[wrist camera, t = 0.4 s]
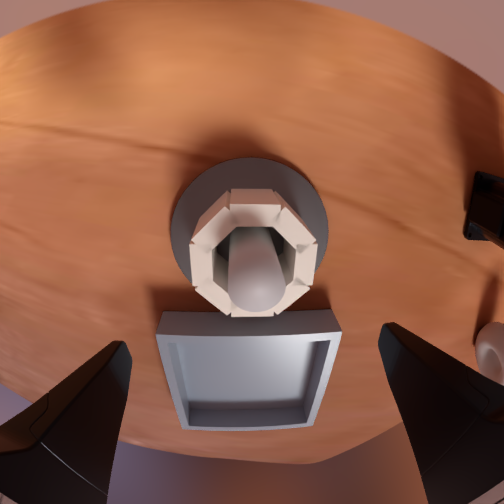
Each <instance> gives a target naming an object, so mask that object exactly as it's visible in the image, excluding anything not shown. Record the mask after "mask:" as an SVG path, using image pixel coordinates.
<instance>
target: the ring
mask: <svg viewBox="0 0 504 504" xmlns="http://www.w3.org/2000/svg"><path fill="white" fill-rule="evenodd" d="M236 227H274V228H275V229H276V230H277V231H278V232H279V233H280V234H281V235H282V236H283V237H284V245H283V253H281V254H280V255H279V256H278V260H279V263H280V266H281V270H282V273H283V276H284V279H285V284H286V289H285V293H284V296H283V298H282V299H281V301H280V302H279V303H278V304H277V305H275V306H274V307H273V308H271V309H269V310H266V311H262V312H249V311H245V310H242V309H240V308H239V307H237V306H236V305H235V304H234V303H233V302H232V301H231V299H230V297H229V295H228V266H229V262H227V261H226V260H225V259H224V258H223V257H222V256H221V255H220V254H218V253H217V245H218V244H219V243H220V242H221V241H222V240H223V239H224V238H225V237H226V236H227V235H228V234H229V233H230V232H231V231H232V230H233V229H235V228H236ZM317 246H318V244H317V243H316V239H315V237H314V236H313V234H312V233H311V231H310V230H309V229H308V227H307V226H306V224H305V223H304V221H303V220H302V219H301V217H300V216H299V215H298V214H297V213H296V212H295V211H294V210H293V209H292V208H291V207H290V206H289V204H288V203H287V202H286V201H285V200H284V199H283V198H282V197H281V196H280V195H279V194H278V193H277V192H276V191H275V192H273V190H272V189H231V193H230V192H229V191H226V192H225V193H224V194H223V195H222V196H221V197H220V198H219V199H218V200H217V201H216V202H215V203H214V204H213V205H212V206H211V207H210V208H209V209H208V210H207V211H206V212H205V213H204V214H203V215H202V216H201V217H200V218H199V221H198V223H197V226H196V228H195V231H194V233H193V236H192V239H191V241H190V244H189V247H190V261H191V273H192V285H193V286H196V287H195V291H197V292H198V293H199V294H200V295H202V296H203V297H204V298H205V299H207V300H208V301H209V302H210V303H212V304H213V305H214V306H215V307H217V308H218V309H219V310H221V311H222V312H223V313H224V314H226V315H228V314H229V313H231V317H263V316H274V312H275V313H276V314H277V315H278V314H279V313H281V312H282V311H283V310H284V309H286V308H287V307H288V306H290V305H291V304H292V303H293V302H295V301H296V300H297V299H298V298H300V297H301V296H302V295H303V294H305V293H306V292H307V291H308V290H309V289H310V287H309V285H313V278H314V270H315V263H316V255H317Z"/></svg>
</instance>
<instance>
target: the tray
mask: <svg viewBox="0 0 504 504" xmlns="http://www.w3.org/2000/svg"><path fill="white" fill-rule="evenodd" d="M341 335H342V330H341V328H340V325H339V323H338V321H337V319H336V317H335V315H334V313H333V311H332V309H327V310H306V311H282V312H281V313H279V314H278V315H277V314H276V313H275V312H274V316H263V317H231V313H229V314H228V315H226V314H224V313H223V312H178V311H163V314H162V316H161V319H160V322H159V325H158V328H157V331H156V339H157V343H158V347H159V351H160V355H161V359H162V363H163V367H164V370H165V374H166V378H167V381H168V385H169V388H170V392H171V395H172V398H173V402H174V405H175V408H176V411H177V414H178V417H179V420H180V423H181V426H182V429H190V430H212V431H251V430H273V429H286V428H297V427H306V426H313V423H314V421H315V418H316V415H317V412H318V410H319V407H320V404H321V401H322V398H323V395H324V392H325V389H326V386H327V383H328V380H329V376H330V373H331V370H332V367H333V363H334V360H335V356H336V353H337V349H338V346H339V342H340V338H341Z"/></svg>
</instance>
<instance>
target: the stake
mask: <svg viewBox="0 0 504 504" xmlns="http://www.w3.org/2000/svg"><path fill="white" fill-rule="evenodd" d="M231 189H272V190H273V192H275V191H276V192H277V193H278V194H279V195H280V196H281V197H282V198H283V199H284V200H285V201H286V202H287V203H288V204H289V206H290V207H291V208H292V209H293V210H294V211H295V212H296V213H297V214H298V215H299V216H300V217H301V219H302V220H303V221H304V223H305V224H306V226H307V227H308V229H309V230H310V231H311V233H312V234H313V236H314V237H315V239H316V243H317V244H318V246H317V255H316V263H315V270H314V273H315V272H316V270H317V269H318V267H319V265H320V263H321V261H322V259H323V257H324V254H325V251H326V247H327V242H328V220H327V215H326V211H325V208H324V206H323V203H322V201H321V199H320V197H319V195H318V194H317V192H316V191H315V189H314V188H313V187H312V185H311V184H310V183H309V182H308V181H307V180H306V179H305V178H304V177H302V176H301V175H300V174H298V173H297V172H296V171H294V170H293V169H291V168H289V167H287V166H286V165H284V164H281V163H278V162H276V161H273V160H269V159H264V158H254V157H247V158H237V159H232V160H228V161H225V162H222V163H219V164H217V165H215V166H213V167H211V168H209V169H208V170H206V171H205V172H203V173H202V174H200V175H199V176H198V177H197V178H196V179H195V180H194V181H193V182H192V183H191V184H190V185H189V186H188V188H187V189H186V190H185V191H184V193H183V194H182V196H181V198H180V199H179V201H178V203H177V206H176V208H175V210H174V214H173V218H172V223H171V244H172V250H173V253H174V256H175V259H176V261H177V263H178V266H179V267H180V269H181V271H182V272H183V274H184V275H185V276H186V278H187V279H188V280H189V281H190V282H191V283H192V273H191V261H190V247H189V244H190V241H191V239H192V236H193V233H194V231H195V228H196V226H197V223H198V221H199V218H200V217H201V216H202V215H203V214H204V213H205V212H206V211H207V210H208V209H209V208H210V207H211V206H212V205H213V204H214V203H215V202H216V201H217V200H218V199H219V198H220V197H221V196H222V195H223V194H224V193H225V192H226V191H229V192H230V193H231ZM283 245H284V237H283V236H282V235H281V234H280V233H279V232H278V231H277V230H276V229H275V228H274V227H236V228H235V229H233V230H232V231H231V232H230V233H229V234H228V235H227V236H226V237H225V238H224V239H223V240H222V241H221V242H220V243H219V244H218V245H217V253H218V254H220V255H221V256H222V257H223V258H224V259H225V260H226V261H227V262H229V266H228V295H229V297H230V299H231V301H232V302H233V303H234V304H235V305H236V306H237V307H239V308H240V309H242V310H245V311H249V312H262V311H266V310H269V309H271V308H273V307H274V306H275V305H277V304H278V303H279V302H280V301H281V299H282V298H283V296H284V293H285V289H286V284H285V279H284V276H283V273H282V270H281V266H280V263H279V260H278V256H279V255H280V254H281V253H283ZM195 287H196V286H195Z"/></svg>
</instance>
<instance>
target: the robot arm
mask: <svg viewBox="0 0 504 504" xmlns="http://www.w3.org/2000/svg"><path fill="white" fill-rule="evenodd" d="M464 237H465V238H466V239H468V240H483V241H491V242H493V243H495V244H496V245H498V246H499V247H501V248H502V249H504V179H503V178H500V177H497V176H494V175H491V174H487V173H484V172H481V171H477V172H476V174H475V180H474V187H473V193H472V199H471V204H470V210H469V215H468V219H467V224H466V228H465V232H464ZM378 347H379V351H380V354H381V358H382V361H383V365H384V368H385V372H386V376H387V379H388V382H389V385H390V388H391V391H392V393H393V396H394V398H395V401H396V404H397V406H398V409H399V412H400V414H401V417H402V420H403V423H404V425H405V428H406V431H407V434H408V437H409V440H410V443H411V446H412V449H413V452H414V455H415V458H416V461H417V465H418V468H419V471H420V475H421V478H422V482H423V485H424V489H425V493H426V496H427V500H428V504H504V386H503V385H501V384H499V383H497V382H495V381H493V380H491V379H489V378H487V377H485V376H483V375H482V374H480V373H478V372H477V371H475V370H473V369H472V368H470V367H468V366H466V365H465V364H463V363H462V362H460V361H458V360H457V359H455V358H453V357H452V356H450V355H448V354H447V353H445V352H443V351H442V350H440V349H438V348H437V347H435V346H433V345H432V344H430V343H428V342H427V341H425V340H423V339H422V338H420V337H418V336H417V335H415V334H413V333H412V332H410V331H408V330H407V329H405V328H403V327H402V326H400V325H398V324H397V323H395V322H390V323H385V324H383V326H382V329H381V333H380V336H379V340H378ZM131 369H132V357H131V355H130V352H129V350H128V348H127V345H126V343H125V342H124V341H116V340H115V341H112V342H111V343H110V344H108V345H107V346H106V347H105V348H103V349H102V350H101V351H99V352H98V353H97V354H96V355H94V356H93V357H92V358H90V359H89V360H88V361H87V362H85V363H84V364H83V365H82V366H80V367H79V368H78V369H76V370H75V371H74V372H73V373H71V374H70V375H69V376H68V377H66V378H65V379H64V380H63V381H61V382H60V383H59V384H58V385H56V386H55V387H54V388H53V389H51V390H50V391H49V393H46V394H45V395H44V396H42V397H41V398H40V399H39V400H37V401H36V402H35V403H33V404H32V405H31V406H29V407H28V408H26V409H25V410H24V411H22V412H21V413H19V414H17V415H16V416H15V417H13V418H12V419H10V420H8V421H7V422H5V423H4V424H2V425H1V426H0V504H106V503H107V497H108V496H107V495H108V489H109V483H110V477H111V471H112V465H113V460H114V455H115V450H116V445H117V441H118V436H119V431H120V427H121V422H122V418H123V414H124V410H125V406H126V401H127V396H128V389H129V382H130V375H131Z"/></svg>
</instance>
